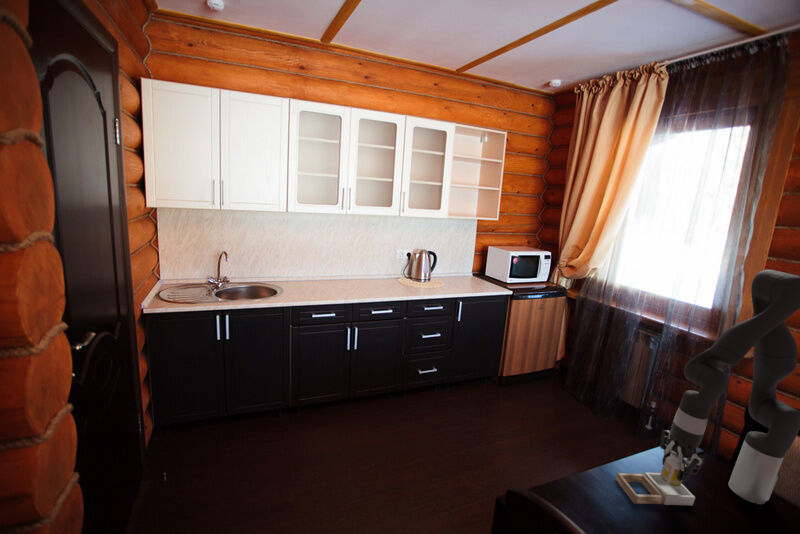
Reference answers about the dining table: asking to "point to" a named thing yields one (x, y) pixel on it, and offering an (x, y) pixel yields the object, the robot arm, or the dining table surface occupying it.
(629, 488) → the wooden frame
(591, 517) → the dining table surface
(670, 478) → the supplement bottle
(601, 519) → the dining table surface
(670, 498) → the tray
